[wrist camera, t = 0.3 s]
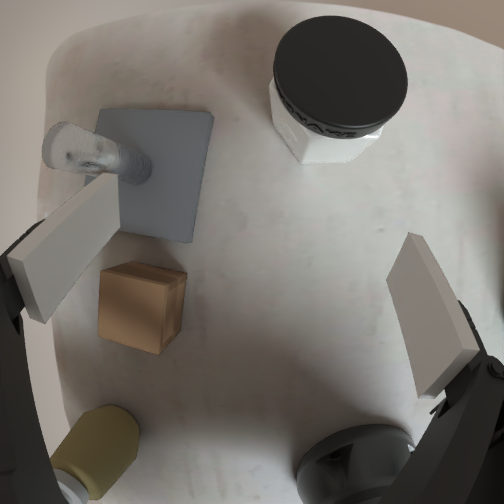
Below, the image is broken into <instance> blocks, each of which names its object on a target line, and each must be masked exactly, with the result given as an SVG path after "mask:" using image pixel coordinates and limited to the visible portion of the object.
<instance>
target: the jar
mask: <svg viewBox="0 0 504 504" xmlns="http://www.w3.org/2000/svg"><path fill="white" fill-rule="evenodd" d="M273 72H274V77H273V79H272V80H271V82H270V84H269V92H270V101H271V110H272V120H273V126H274V127H275V129H276V130H277V131H278V133H279V134H280V135H281V137H282V138H283V139H284V141H285V142H286V143H287V145H288V146H289V148H290V149H291V150H292V152H293V153H294V155H295V156H296V157H297V159H298V160H299V162H300V163H301V164H312V163H337V162H350V161H351V160H353V159H354V158H355V157H356V156H357V155H359V154H360V153H361V152H362V151H363V150H365V149H366V148H367V147H368V146H369V145H371V144H372V143H373V142H374V141H375V140H377V139H378V138H379V137H380V134H381V132H382V129H383V127H384V125H385V123H386V122H387V121H388V120H390V119H391V118H392V117H393V116H394V115H395V114H396V113H397V112H398V110H399V109H400V108H401V106H402V104H403V102H404V100H405V97H406V93H407V87H408V78H407V72H406V68H405V65H404V62H403V60H402V58H401V56H400V54H399V53H398V51H397V50H396V48H395V47H394V46H393V44H392V43H391V42H390V41H389V40H388V39H387V38H386V37H385V36H384V35H383V34H381V33H380V32H379V31H377V30H376V29H374V28H373V27H371V26H369V25H367V24H365V23H363V22H361V21H358V20H355V19H352V18H348V17H343V16H319V17H314V18H311V19H307V20H305V21H302V22H300V23H299V24H297V25H295V26H294V27H292V28H291V29H290V30H289V31H288V32H287V33H286V34H285V35H284V36H283V38H282V39H281V41H280V43H279V45H278V47H277V50H276V53H275V60H274V65H273Z"/></svg>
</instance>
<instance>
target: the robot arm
mask: <svg viewBox="0 0 504 504" xmlns="http://www.w3.org/2000/svg"><path fill="white" fill-rule="evenodd" d="M119 228H120V216H119V197H118V174H111V173H102V174H101V175H100V176H98V177H97V178H96V179H94V180H93V181H92V182H90V183H89V184H88V185H87V186H85V187H84V188H83V189H81V190H80V191H79V192H78V193H76V194H75V195H74V196H73V197H71V198H70V199H69V200H68V201H67V202H65V203H64V204H63V205H62V206H61V207H59V208H58V209H57V210H56V211H55V212H53V213H52V214H51V215H50V216H49V217H48V218H47V219H43V220H42V221H40V222H38V223H36V224H34V225H33V226H32V227H31V228H29V229H28V230H27V231H26V233H24V234H23V235H22V236H21V237H20V238H19V239H18V240H16V241H15V242H14V243H13V244H12V245H11V246H10V247H9V248H8V249H7V250H6V251H5V252H4V253H3V254H2V255H1V256H0V504H70V503H69V502H68V501H67V500H66V498H65V497H64V495H63V494H62V492H61V489H60V487H59V484H58V482H57V479H56V476H55V473H54V470H53V468H52V465H51V462H50V458H49V455H48V452H47V449H46V445H45V442H44V439H43V435H42V431H41V427H40V423H39V419H38V415H37V411H36V407H35V402H34V397H33V392H32V387H31V382H30V376H29V370H28V363H27V356H26V348H25V339H24V329H23V319H22V316H21V314H20V312H21V311H22V309H23V308H24V307H26V310H27V312H28V315H29V317H30V318H31V319H34V320H36V321H39V322H41V323H44V324H46V322H47V321H48V319H49V318H50V317H51V315H52V314H53V312H54V311H55V309H56V308H57V307H58V305H59V304H60V302H61V301H62V300H63V298H64V297H65V296H66V294H67V293H68V292H69V290H70V289H71V288H72V286H73V285H74V284H75V282H76V281H77V280H78V278H79V277H80V276H81V274H82V273H83V272H84V271H85V269H86V268H87V267H88V265H89V264H90V263H91V262H92V260H93V259H94V258H95V257H96V255H97V254H98V253H99V252H100V251H101V249H102V248H103V247H104V246H105V244H106V243H107V242H108V241H109V240H110V238H111V237H112V236H113V235H114V234H115V233H116V231H117V230H118V229H119ZM386 281H387V284H388V287H389V290H390V294H391V297H392V300H393V303H394V306H395V310H396V313H397V316H398V320H399V323H400V327H401V330H402V334H403V338H404V341H405V345H406V349H407V353H408V356H409V360H410V364H411V369H412V373H413V377H414V381H415V386H416V390H417V395H418V398H436V397H437V396H438V395H439V394H440V393H441V392H442V391H443V390H444V389H445V393H446V398H444V399H443V400H442V401H441V402H440V403H439V404H438V405H437V406H436V407H435V408H434V409H433V410H432V411H431V412H430V414H431V415H432V414H433V413H434V412H435V411H436V413H435V415H434V417H433V418H432V420H431V422H430V424H429V426H428V428H427V429H426V431H425V433H424V435H423V436H422V438H421V440H420V441H419V443H418V445H417V446H416V447H415V445H414V443H413V441H412V439H411V438H410V436H409V435H408V434H407V433H406V432H404V431H403V430H401V429H399V428H396V427H393V426H389V425H364V426H358V427H354V428H350V429H347V430H344V431H341V432H338V433H336V434H334V435H332V436H330V437H328V438H326V439H324V440H323V441H321V442H320V443H318V444H317V445H315V446H314V447H313V448H312V449H311V450H310V451H309V452H308V453H307V454H306V455H305V456H304V458H303V459H302V461H301V462H300V464H299V467H298V470H297V490H298V494H299V496H300V498H301V500H302V502H303V504H504V366H503V364H502V363H501V362H500V361H499V360H498V359H497V358H495V357H493V356H489V355H487V352H486V350H485V348H484V345H483V343H482V341H481V338H480V336H479V334H478V332H477V330H475V328H476V327H475V325H474V323H473V322H472V319H471V317H470V314H469V312H468V310H467V309H466V308H465V307H464V305H463V304H462V303H461V302H460V301H459V300H457V298H456V296H455V294H454V292H453V290H452V288H451V287H450V285H449V283H448V281H447V279H446V277H445V275H444V273H443V271H442V270H441V268H440V266H439V264H438V262H437V260H436V259H435V257H434V255H433V253H432V252H431V250H430V248H429V247H428V245H427V243H426V241H425V240H424V238H423V236H420V235H417V234H413V233H409V232H408V235H407V237H406V239H405V241H404V244H403V246H402V248H401V250H400V252H399V254H398V256H397V259H396V261H395V263H394V265H393V267H392V269H391V271H390V273H389V275H388V277H387V279H386Z"/></svg>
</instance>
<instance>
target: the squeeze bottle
mask: <svg viewBox="0 0 504 504" xmlns="http://www.w3.org/2000/svg"><path fill="white" fill-rule="evenodd" d="M139 436H140V430H139V426H138V423H137V422H136V421H135V419H134V418H133V416H131V415H130V414H129V413H128V412H127V411H126V410H124V409H122V408H120V407H118V406H113V405H107V406H103V407H100V408H97V409H94V410H91V411H88V412H85V413H84V414H83V415H82V416H81V417H80V419H79V420H78V421H77V422H76V424H75V425H74V426H73V428H72V429H71V430H70V432H69V433H68V435H67V436H66V437H65V439H64V440H63V441H62V443H61V444H60V445H59V447H58V448H57V449H56V451H55V452H54V454H53V455H52V456H51V458H50V462H51V465H52V468H53V470H54V473H55V476H56V479H57V482H58V484H59V487H60V489H61V492H62V494H63V495H64V497H65V498H66V500H67V501H68V502H69V503H70V504H86V503H87V502H88V500H99V499H100V498H102V497H103V496H104V494H105V493H106V492H107V491H108V490H109V489H110V488H111V487H112V485H113V484H114V483H115V482H116V481H117V480H118V478H119V477H120V476H121V475H122V474H123V473H124V472H125V470H126V469H127V468H128V467H129V466H130V465H131V463H132V462H133V461H134V460H135V459H136V456H137V452H138V445H139Z"/></svg>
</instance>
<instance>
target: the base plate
mask: <svg viewBox="0 0 504 504" xmlns="http://www.w3.org/2000/svg"><path fill="white" fill-rule="evenodd" d="M213 119H214V117H213V116H212V114H211V113H210V112H197V111H182V110H162V109H101V110H100V113H99V117H98V121H97V126H96V130H95V133H96V134H98V135H100V136H103V137H105V138H107V139H110V140H112V141H114V142H117V143H119V144H121V145H124V146H126V147H128V148H131V149H133V150H135V151H138V152H140V153H142V154H144V155H146V156H148V157H149V159H150V160H151V162H152V173H151V175H150V177H149V179H148V180H147V181H146V182H144V183H143V184H140V185H133V184H128V183H123V182H119V181H118V197H119V216H120V228H119V229H118V231H123V232H129V233H134V234H140V235H145V236H151V237H156V238H162V239H167V240H173V241H178V242H184V243H190V242H192V237H193V230H194V224H195V217H196V211H197V205H198V199H199V193H200V187H201V182H202V176H203V170H204V165H205V160H206V154H207V149H208V144H209V139H210V134H211V129H212V124H213ZM96 178H97V177H94V176H89V175H86V180H85V186H87V185H88V184H89V183H90V182H92V181H93V180H94V179H96ZM85 186H84V187H85Z"/></svg>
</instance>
